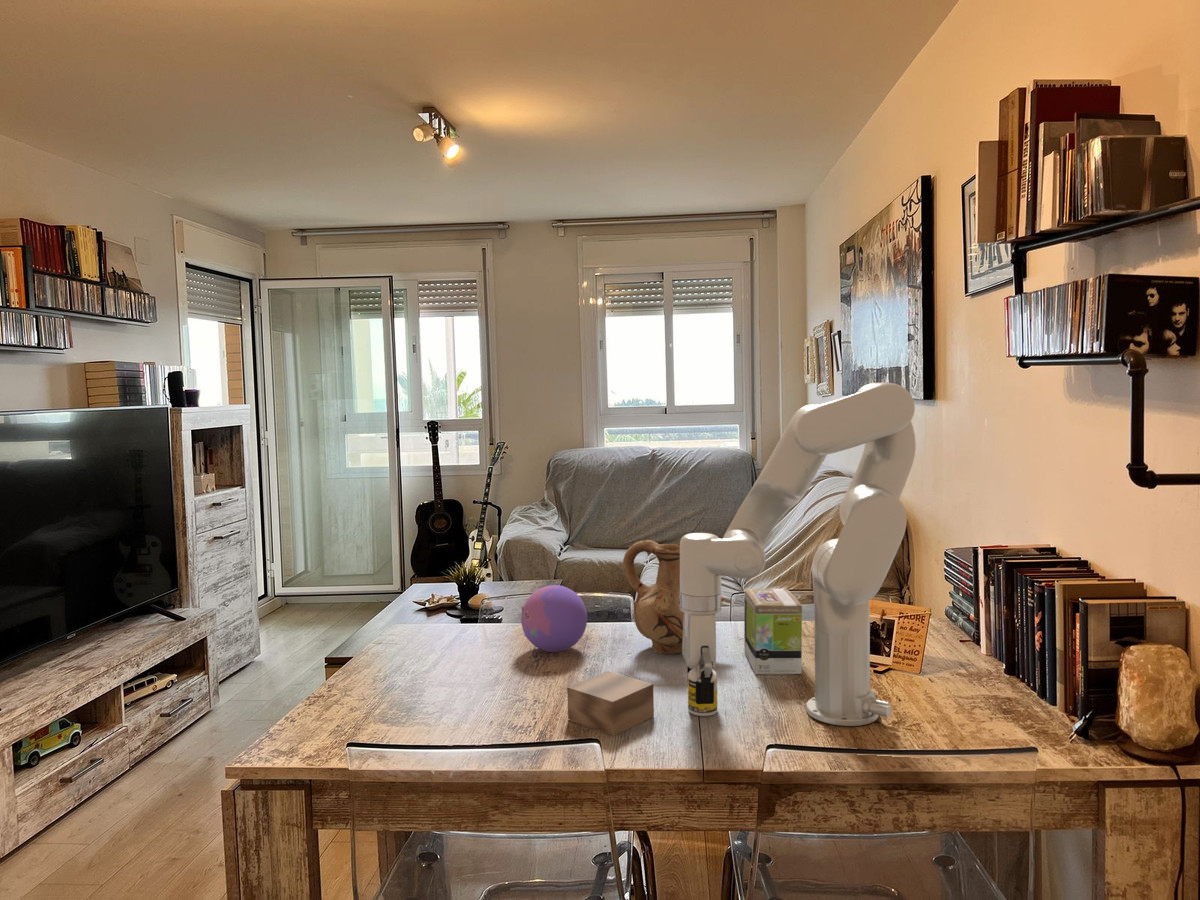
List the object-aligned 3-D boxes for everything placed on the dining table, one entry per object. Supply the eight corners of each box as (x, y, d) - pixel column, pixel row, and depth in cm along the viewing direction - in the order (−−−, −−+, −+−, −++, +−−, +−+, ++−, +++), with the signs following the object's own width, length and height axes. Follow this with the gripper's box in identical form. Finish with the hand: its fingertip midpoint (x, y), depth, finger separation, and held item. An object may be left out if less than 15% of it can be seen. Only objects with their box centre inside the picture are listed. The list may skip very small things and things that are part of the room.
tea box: (803, 675, 171) (803, 604, 170) (754, 675, 171) (753, 605, 170) (788, 651, 186) (788, 586, 185) (743, 652, 186) (742, 587, 185)
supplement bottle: (683, 714, 152) (682, 662, 151) (694, 704, 157) (693, 653, 156) (711, 719, 149) (710, 666, 149) (721, 708, 154) (720, 657, 153)
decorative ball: (513, 646, 194) (511, 583, 193) (572, 637, 201) (570, 575, 200) (535, 665, 181) (533, 597, 180) (598, 654, 187) (596, 588, 186)
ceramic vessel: (664, 667, 177) (662, 551, 175) (610, 646, 193) (608, 539, 191) (725, 650, 188) (725, 540, 186) (670, 631, 203) (669, 530, 201)
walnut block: (653, 716, 151) (653, 683, 151) (613, 735, 143) (612, 701, 143) (608, 701, 159) (608, 671, 158) (568, 719, 151) (567, 687, 150)
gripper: (673, 590, 160) (673, 677, 161) (686, 615, 143) (686, 712, 144) (712, 589, 160) (712, 676, 162) (730, 614, 143) (729, 711, 144)
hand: (700, 693), depth 153 cm, fingers open, 9 cm apart
